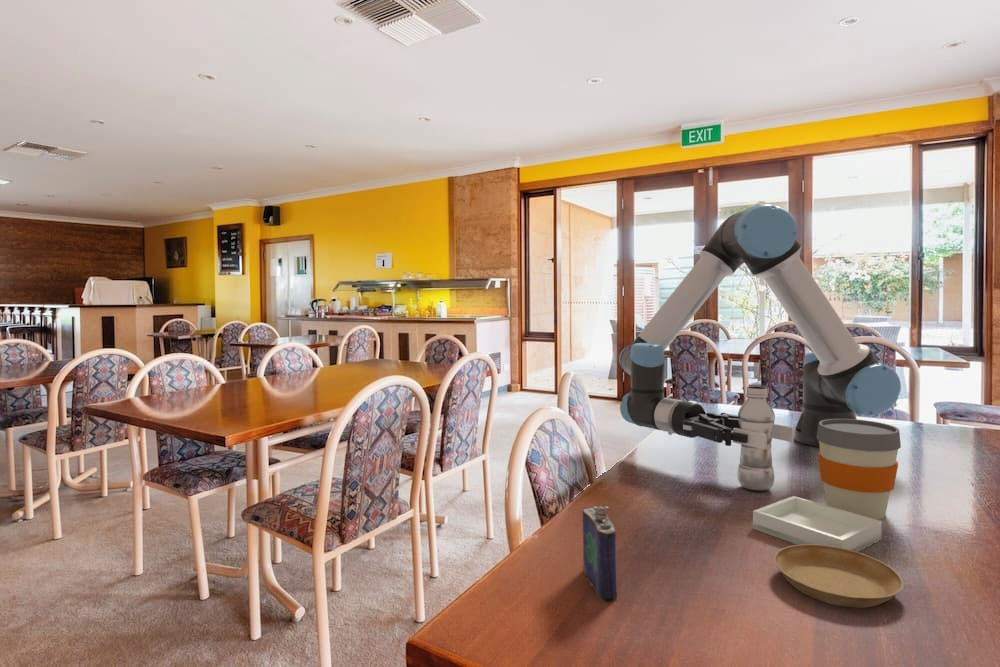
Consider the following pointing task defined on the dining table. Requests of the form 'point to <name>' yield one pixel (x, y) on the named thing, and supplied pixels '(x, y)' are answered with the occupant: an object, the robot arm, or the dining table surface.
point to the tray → (816, 524)
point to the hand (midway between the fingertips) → (779, 438)
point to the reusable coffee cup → (858, 464)
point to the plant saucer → (838, 575)
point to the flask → (600, 552)
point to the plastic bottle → (755, 461)
